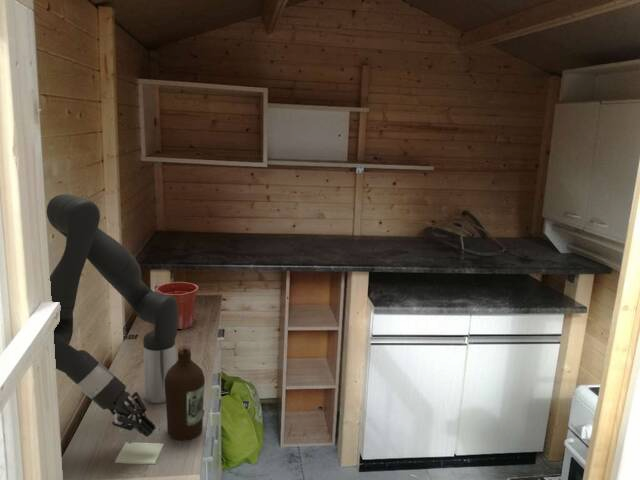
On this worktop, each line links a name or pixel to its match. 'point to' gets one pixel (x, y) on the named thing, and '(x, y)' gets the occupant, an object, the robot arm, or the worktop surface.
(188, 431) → the olive oil
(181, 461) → the worktop surface
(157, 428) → the lighter
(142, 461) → the mat
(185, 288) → the flower pot
